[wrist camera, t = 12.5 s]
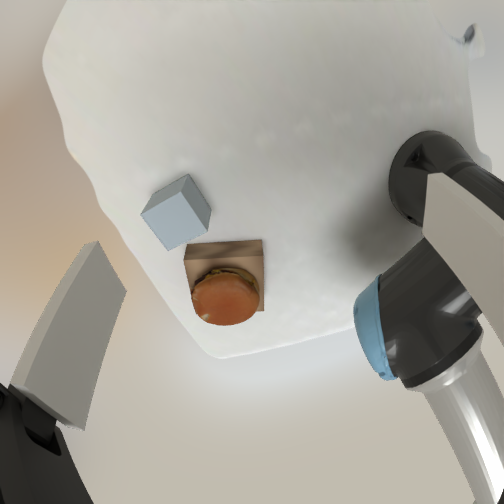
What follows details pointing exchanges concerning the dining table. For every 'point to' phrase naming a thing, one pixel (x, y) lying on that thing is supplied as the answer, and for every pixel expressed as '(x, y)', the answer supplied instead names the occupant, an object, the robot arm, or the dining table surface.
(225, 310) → the burger
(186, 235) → the slate cube
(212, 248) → the walnut block
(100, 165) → the dining table surface
